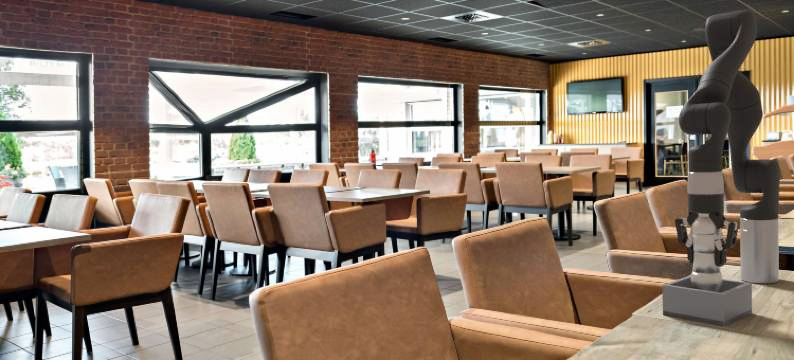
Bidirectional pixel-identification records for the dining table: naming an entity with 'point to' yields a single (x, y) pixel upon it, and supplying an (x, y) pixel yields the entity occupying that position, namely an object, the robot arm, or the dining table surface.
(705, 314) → the box
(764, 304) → the dining table surface
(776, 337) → the dining table surface
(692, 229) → the plastic bottle
